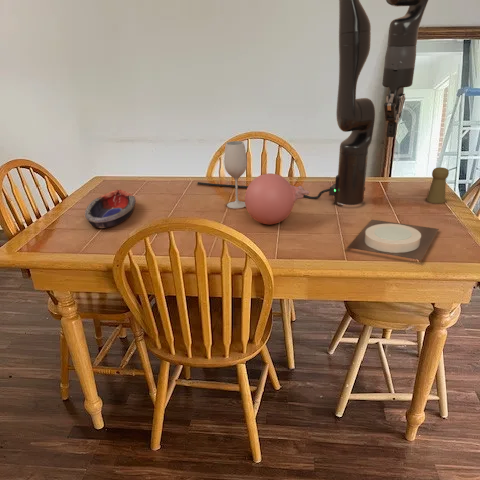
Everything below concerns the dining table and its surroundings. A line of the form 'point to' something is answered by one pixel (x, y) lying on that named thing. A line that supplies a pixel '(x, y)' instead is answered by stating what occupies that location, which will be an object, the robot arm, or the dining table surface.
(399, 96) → the robot arm
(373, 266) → the dining table surface
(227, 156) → the wineglass
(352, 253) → the dining table surface
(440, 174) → the olive pepper mill
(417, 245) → the plate
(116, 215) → the dish
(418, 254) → the board
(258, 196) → the balloon
